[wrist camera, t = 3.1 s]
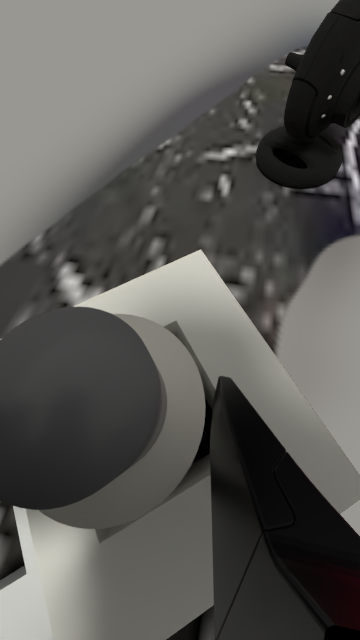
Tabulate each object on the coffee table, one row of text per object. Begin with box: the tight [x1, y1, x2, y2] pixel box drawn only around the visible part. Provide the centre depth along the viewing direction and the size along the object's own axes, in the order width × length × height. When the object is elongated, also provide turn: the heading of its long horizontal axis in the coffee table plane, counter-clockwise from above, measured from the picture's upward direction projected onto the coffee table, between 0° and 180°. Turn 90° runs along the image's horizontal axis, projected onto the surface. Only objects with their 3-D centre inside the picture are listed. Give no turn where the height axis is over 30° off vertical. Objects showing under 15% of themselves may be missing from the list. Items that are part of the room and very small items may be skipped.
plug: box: [0, 307, 205, 529], centre depth 9 cm, size 4×4×12 cm
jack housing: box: [0, 250, 360, 640], centre depth 11 cm, size 12×22×5 cm, turn 118°
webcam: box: [256, 0, 360, 188], centre depth 18 cm, size 8×8×10 cm
